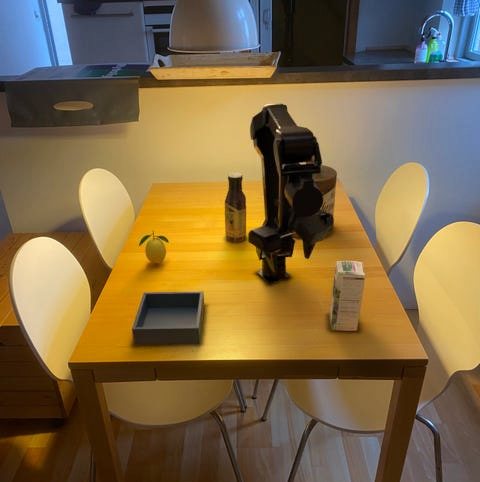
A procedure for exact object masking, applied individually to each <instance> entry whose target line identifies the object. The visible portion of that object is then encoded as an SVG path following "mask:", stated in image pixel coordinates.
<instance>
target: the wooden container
mask: <svg viewBox="0 0 480 482" xmlns="http://www.w3.org/2000/svg"><path fill="white" fill-rule="evenodd" d="M305 164H313V161H311V162H305ZM320 169H321V173H316V174H313V176H312V178H313V180H314V184H315V185H316V186H317V187H318V189H319V190H320V191H321V193H322V196H323V205H322V207H321V209H320V210H323V211H325V212H327V213H328V212H330V213H331V214H332V215H333V216H334V215H335V203H336V189H337V187H336V185H337V179H338V171H337V170H336V169H335V168H333V167H331V166H328V165H323V164H322V165H321V166H320ZM331 233H332V231H331V232H329V233H326V235H325V237H328V236H329V235H331ZM292 235H293V238H296V239H301V238H300V237H299V236H298V235H297V233H293V234H292Z"/></svg>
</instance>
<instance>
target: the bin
mask: <svg viewBox="0 0 480 482" xmlns="http://www.w3.org/2000/svg"><path fill="white" fill-rule="evenodd" d="M204 315H205V296H204V291H156V292H155V291H152V292H149V291H148V292H147V291H146V292H143V294H142V297H141V300H140V303H139V306H138V309H137V311H136V315H135V319H134V322H133V324H132V328H131V333H132V337H133V342H134V345H135V346H140V345H141V346H143V345H144V346H145V345H149V346H150V345H199V344H201V339H202V331H203V323H204Z"/></svg>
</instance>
